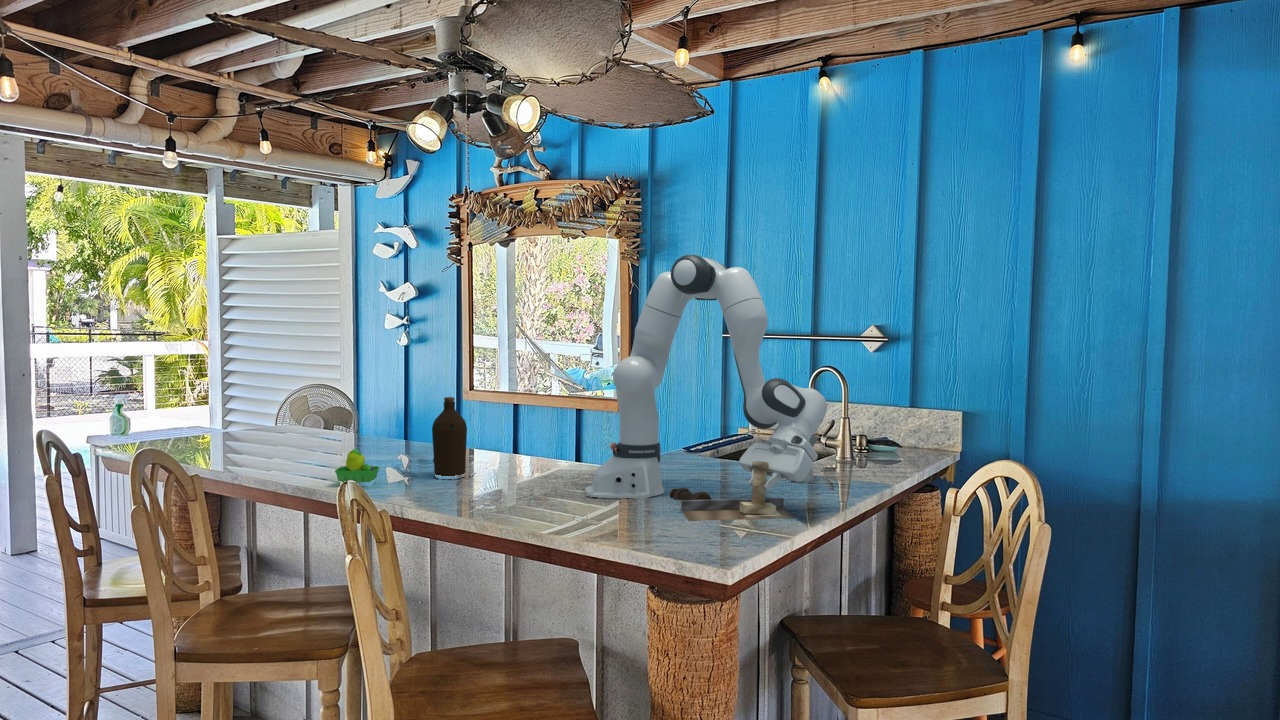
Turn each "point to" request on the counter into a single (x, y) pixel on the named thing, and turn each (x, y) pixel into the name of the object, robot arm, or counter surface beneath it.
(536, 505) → the counter surface
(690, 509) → the board
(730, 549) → the counter surface
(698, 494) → the bolt
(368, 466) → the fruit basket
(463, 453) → the olive oil
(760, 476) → the stamp
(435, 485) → the counter surface
